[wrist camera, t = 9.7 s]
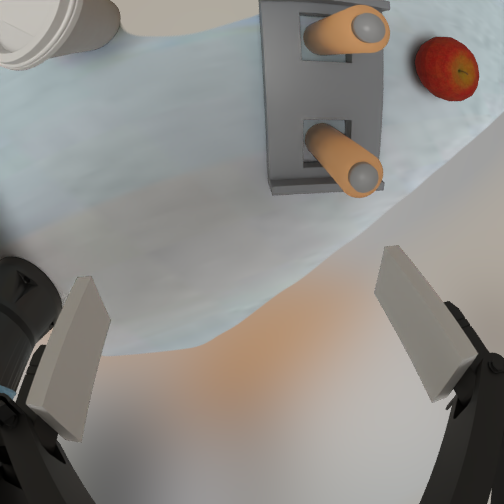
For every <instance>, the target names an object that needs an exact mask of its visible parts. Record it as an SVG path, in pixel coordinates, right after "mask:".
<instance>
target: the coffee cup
mask: <svg viewBox="0 0 504 504" xmlns="http://www.w3.org/2000/svg"><path fill="white" fill-rule="evenodd" d="M119 25H120V12H119V9H118V7H117V6H116V5H115V4H114V3H113V2H111V1H110V0H0V66H2V67H4V68H7V69H10V70H15V71H21V70H27V69H30V68H33V67H35V66H38V65H39V64H41V63H43V62H44V61H46V60H47V59H49V58H54V57H58V56H63V55H68V54H73V53H79V52H85V51H92V50H96V49H99V48H101V47H103V46H104V45H106V44H107V43H108V42H109V41H110V40H111V39H112V38H113V37H114V36H115V34H116V32H117V30H118V28H119Z"/></svg>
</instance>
